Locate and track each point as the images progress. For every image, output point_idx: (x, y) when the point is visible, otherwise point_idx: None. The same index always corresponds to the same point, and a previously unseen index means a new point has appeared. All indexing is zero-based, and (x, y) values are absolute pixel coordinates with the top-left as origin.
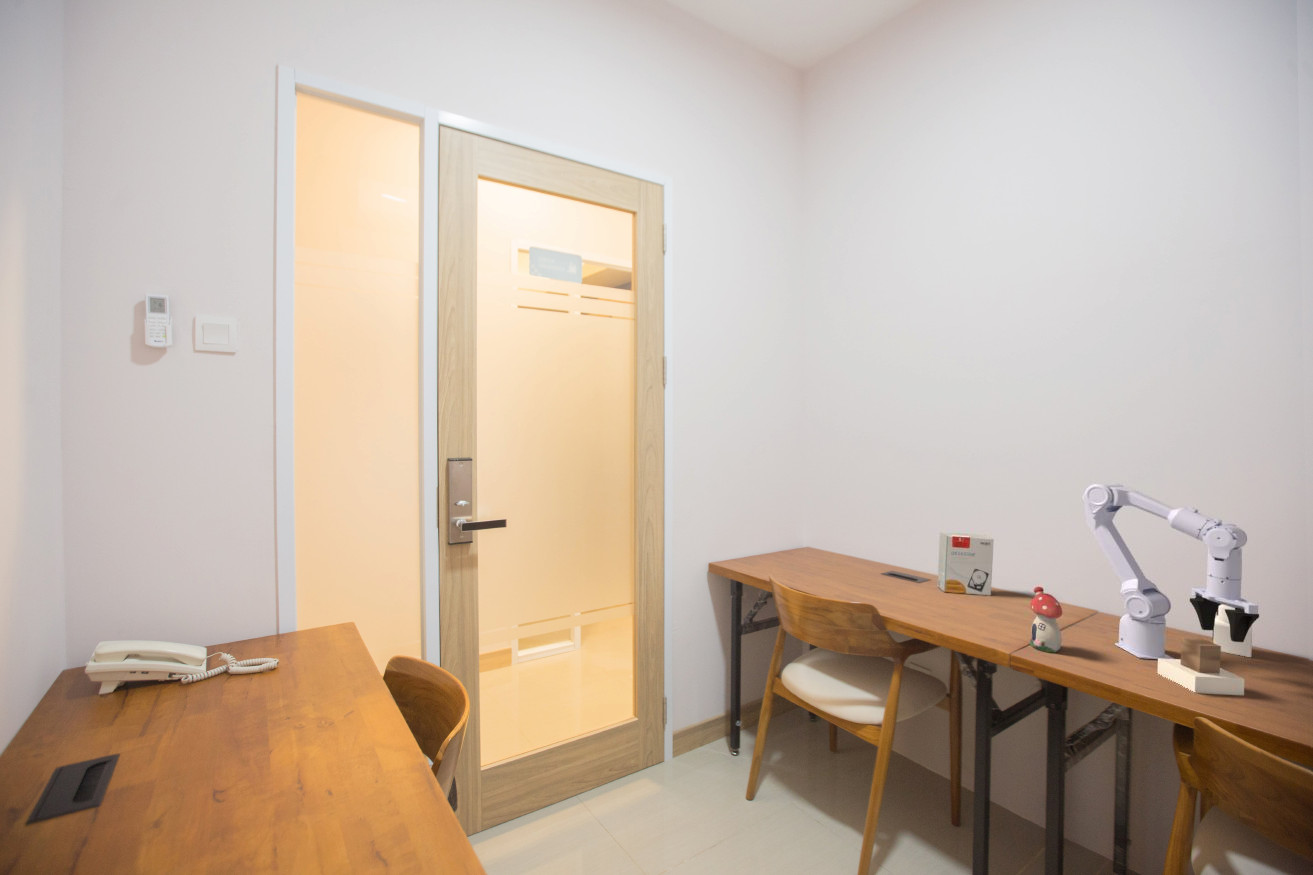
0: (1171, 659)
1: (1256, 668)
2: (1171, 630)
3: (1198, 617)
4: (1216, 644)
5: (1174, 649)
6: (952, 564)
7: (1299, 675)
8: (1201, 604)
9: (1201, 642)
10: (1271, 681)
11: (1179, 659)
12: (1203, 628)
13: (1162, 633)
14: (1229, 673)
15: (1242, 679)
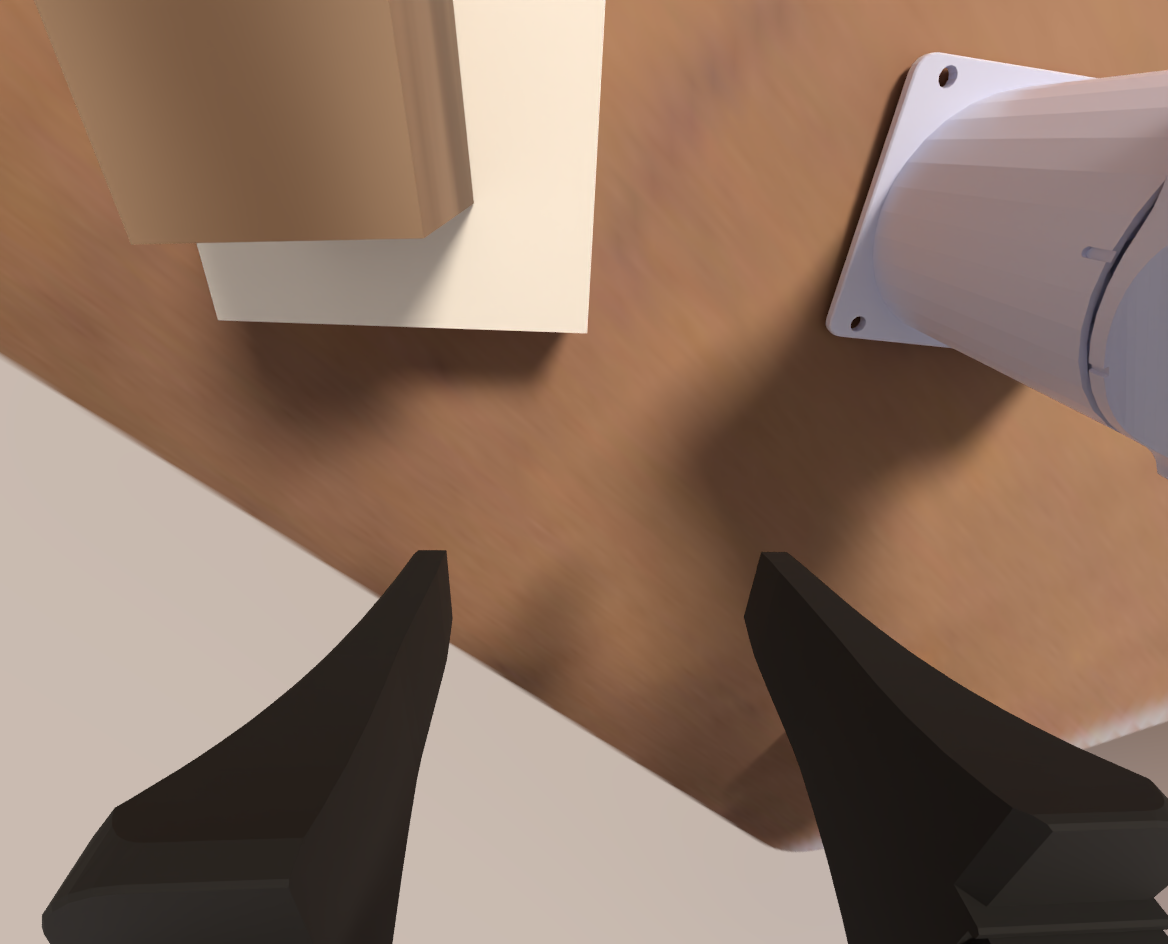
0: (589, 1)
1: (685, 657)
2: (1158, 676)
3: (867, 622)
4: (194, 240)
5: (971, 492)
6: None
7: (611, 738)
8: (940, 811)
9: (206, 50)
10: (531, 599)
11: (593, 108)
12: (767, 557)
13: (997, 308)
14: (313, 296)
15: (220, 304)
